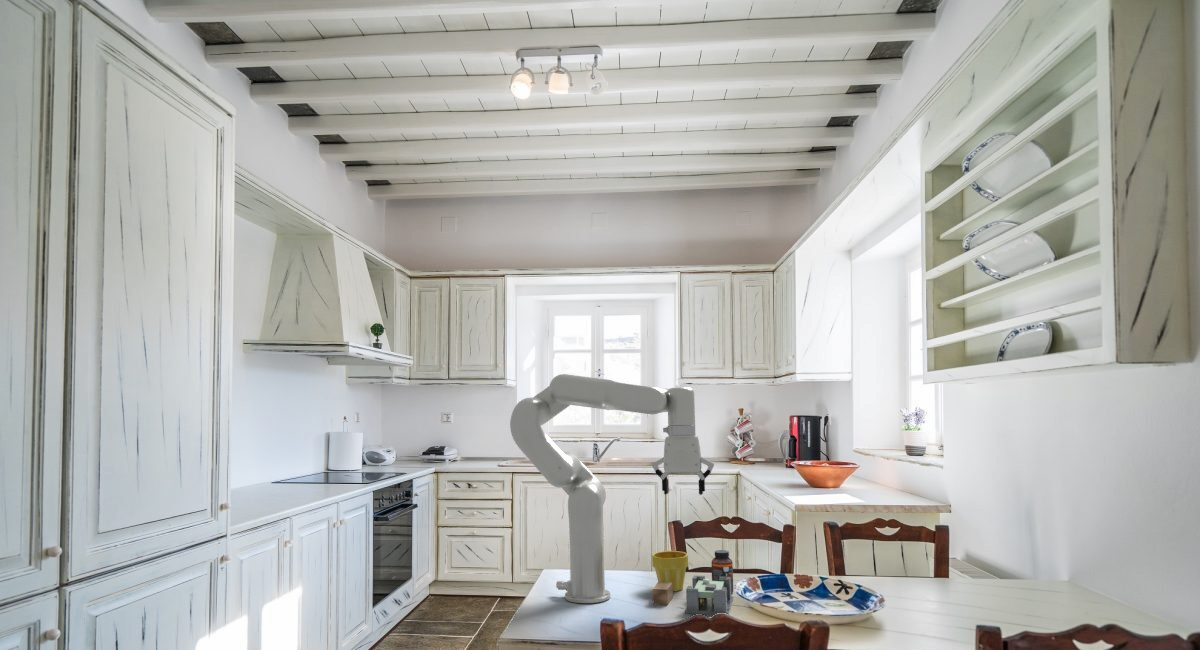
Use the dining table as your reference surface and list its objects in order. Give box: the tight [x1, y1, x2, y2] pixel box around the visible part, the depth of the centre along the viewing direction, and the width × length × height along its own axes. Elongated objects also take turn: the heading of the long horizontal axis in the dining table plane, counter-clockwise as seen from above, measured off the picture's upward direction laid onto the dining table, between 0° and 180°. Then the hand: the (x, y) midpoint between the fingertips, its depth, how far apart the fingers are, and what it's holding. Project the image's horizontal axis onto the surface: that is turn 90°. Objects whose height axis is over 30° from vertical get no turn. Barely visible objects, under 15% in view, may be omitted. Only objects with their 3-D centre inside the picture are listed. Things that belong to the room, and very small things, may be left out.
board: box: [695, 578, 724, 598], centre depth 203 cm, size 7×12×2 cm, turn 166°
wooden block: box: [652, 581, 674, 606], centre depth 208 cm, size 4×8×4 cm, turn 165°
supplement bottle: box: [711, 549, 734, 594], centre depth 217 cm, size 6×6×11 cm
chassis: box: [684, 575, 734, 616], centre depth 202 cm, size 11×16×6 cm
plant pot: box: [651, 550, 689, 592], centre depth 221 cm, size 10×10×10 cm
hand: (683, 493), depth 212 cm, fingers open, 9 cm apart
